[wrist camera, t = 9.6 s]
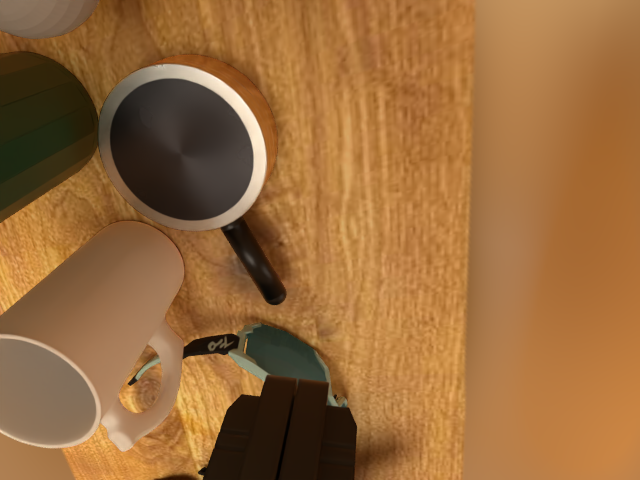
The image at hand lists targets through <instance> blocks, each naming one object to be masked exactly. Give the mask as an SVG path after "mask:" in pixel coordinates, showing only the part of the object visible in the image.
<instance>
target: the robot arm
mask: <svg viewBox="0 0 640 480" xmlns="http://www.w3.org/2000/svg"><path fill="white" fill-rule="evenodd" d="M328 392H329V382H324V381H316V380H308V379H299V382H298V386H297V378H291V377H283V376H275V375H267V376H266V378H265V382H264V385H263V389H262V392H261V396H260V397H259V396H251V395H244V394H242V395H241V396H240V397H239V398H238V399H237V400H236V401H235V402H234V403H233V404H232V405H231V406H230V407H229V408H228V409H227V412H226V415H225V417H224V420H223V423H222V426H221V429H220V433H219V434H218V437H217V440H216V443H215V448H214V449H213V452H212V454H211V457H210V460H209V463H208V466H207V469H206V471H205V474H204V477H203V480H354V470H355V453H356V451H355V450H356V435H357V425H356V423H355V421H354V418H353V416H352V414H351V411H350V409H349V408H346V407H339V406H331V405H327V402H328Z"/></svg>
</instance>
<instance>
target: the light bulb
mask: <svg viewBox="0 0 640 480" xmlns="http://www.w3.org/2000/svg"><path fill="white" fill-rule="evenodd" d="M98 3H99V0H0V30H1V31H3V32H6V33H9V34H12V35H15V36H18V37H22V38H29V39H42V38H50V37H56V36H61V35H64V34H67V33H69V32H71V31H72V30H74V29H75V28H77V27H78V26H80V25H81V24H82V23H83V22H85V21H86V20H87V19H88V18H89V17H90V16H91V15H92V13H93V12H94V10H95V9H96V7H97V5H98Z"/></svg>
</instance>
